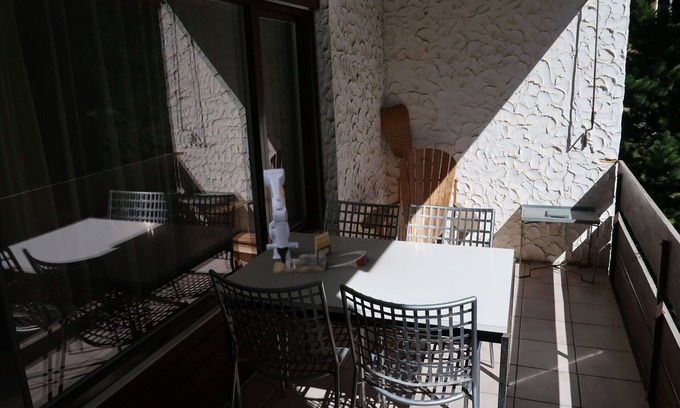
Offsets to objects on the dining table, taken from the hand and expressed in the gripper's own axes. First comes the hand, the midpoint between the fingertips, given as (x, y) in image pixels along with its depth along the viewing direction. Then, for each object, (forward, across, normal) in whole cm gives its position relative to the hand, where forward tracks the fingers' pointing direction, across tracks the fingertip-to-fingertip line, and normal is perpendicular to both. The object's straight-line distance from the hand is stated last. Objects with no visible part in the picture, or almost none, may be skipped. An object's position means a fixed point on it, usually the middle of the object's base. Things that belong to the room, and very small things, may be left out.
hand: (284, 262), depth 260 cm
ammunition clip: (+3, +18, +14) cm, 23 cm away
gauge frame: (+3, +7, 0) cm, 8 cm away
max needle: (+1, +5, -4) cm, 7 cm away
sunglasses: (+4, +30, +3) cm, 31 cm away
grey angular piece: (+1, +6, -1) cm, 6 cm away
